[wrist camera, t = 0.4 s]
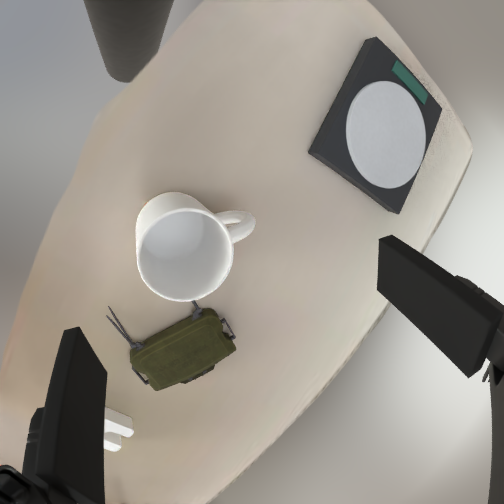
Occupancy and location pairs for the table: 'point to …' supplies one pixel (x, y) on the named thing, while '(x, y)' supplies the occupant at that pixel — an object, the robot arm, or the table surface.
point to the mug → (186, 245)
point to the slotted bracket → (116, 429)
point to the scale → (378, 126)
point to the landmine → (181, 349)
